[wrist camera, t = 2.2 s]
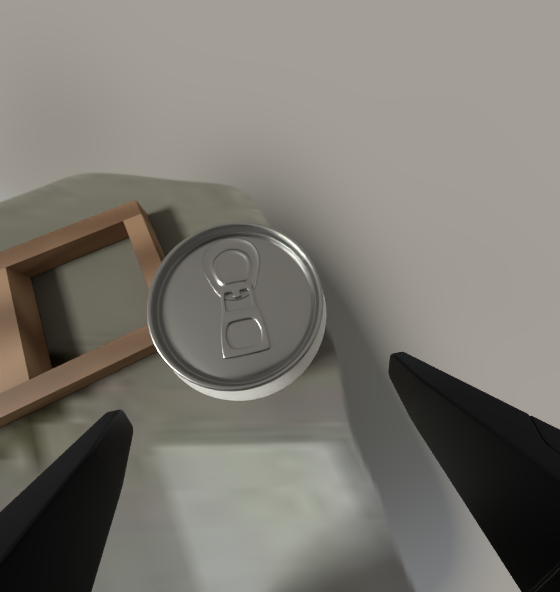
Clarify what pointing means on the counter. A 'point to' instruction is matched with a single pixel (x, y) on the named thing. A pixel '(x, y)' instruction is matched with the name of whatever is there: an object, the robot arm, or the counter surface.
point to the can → (237, 310)
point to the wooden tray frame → (27, 324)
